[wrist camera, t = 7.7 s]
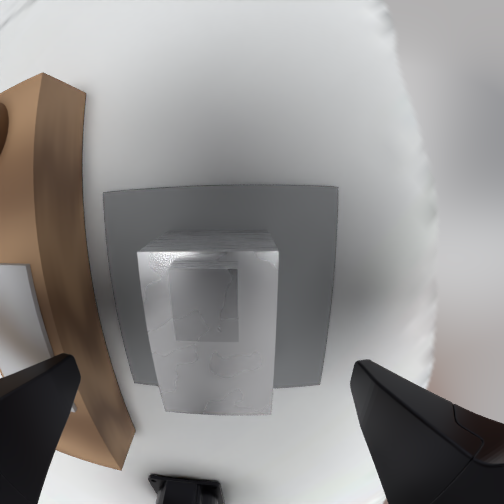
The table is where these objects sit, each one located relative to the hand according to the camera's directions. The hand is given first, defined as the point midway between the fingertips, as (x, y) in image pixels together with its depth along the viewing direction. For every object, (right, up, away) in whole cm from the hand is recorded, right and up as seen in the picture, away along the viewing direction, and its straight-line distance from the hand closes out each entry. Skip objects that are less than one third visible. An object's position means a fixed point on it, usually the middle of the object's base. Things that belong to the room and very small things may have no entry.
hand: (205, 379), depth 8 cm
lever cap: (0, +1, +6) cm, 6 cm away
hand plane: (-11, +1, +6) cm, 12 cm away
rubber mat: (0, +1, +6) cm, 6 cm away
